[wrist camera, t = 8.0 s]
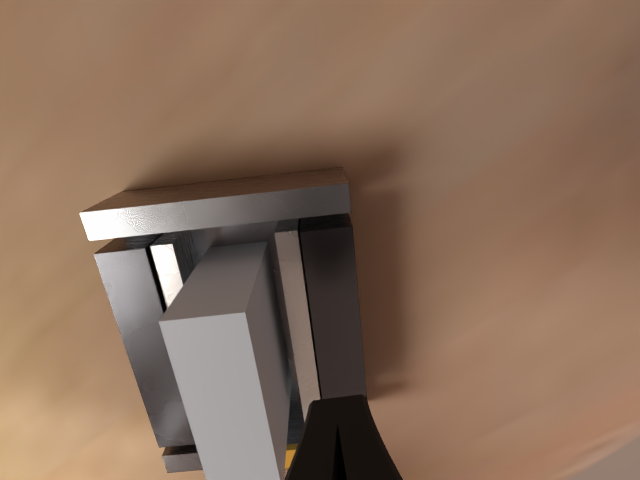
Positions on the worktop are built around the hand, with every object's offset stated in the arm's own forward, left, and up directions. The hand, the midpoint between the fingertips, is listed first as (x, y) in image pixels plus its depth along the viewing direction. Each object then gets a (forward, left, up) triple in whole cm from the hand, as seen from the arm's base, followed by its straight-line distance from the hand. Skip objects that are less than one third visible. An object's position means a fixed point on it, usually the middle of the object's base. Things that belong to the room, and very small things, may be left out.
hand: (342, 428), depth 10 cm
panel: (+4, +1, -7) cm, 8 cm away
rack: (+4, +1, -8) cm, 9 cm away
